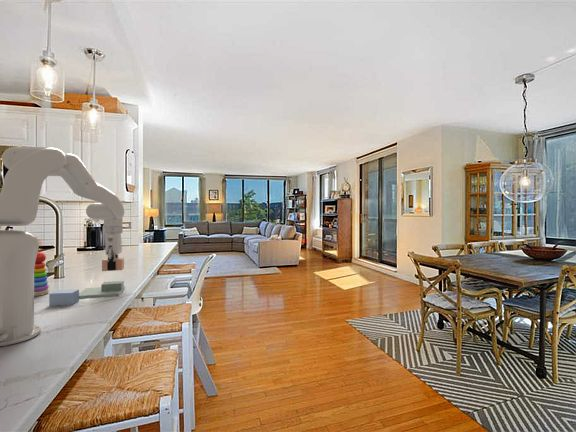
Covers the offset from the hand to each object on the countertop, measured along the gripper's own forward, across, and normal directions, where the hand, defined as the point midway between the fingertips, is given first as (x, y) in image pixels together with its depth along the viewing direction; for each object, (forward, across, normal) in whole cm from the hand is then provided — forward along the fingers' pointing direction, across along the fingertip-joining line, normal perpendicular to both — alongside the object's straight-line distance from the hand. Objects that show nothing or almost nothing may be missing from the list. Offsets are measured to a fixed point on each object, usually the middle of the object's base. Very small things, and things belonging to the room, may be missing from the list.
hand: (113, 268), depth 133 cm
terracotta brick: (+1, 0, 0) cm, 1 cm away
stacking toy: (+11, +4, +30) cm, 32 cm away
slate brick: (+11, -14, +14) cm, 23 cm away
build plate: (+11, -2, +4) cm, 11 cm away
